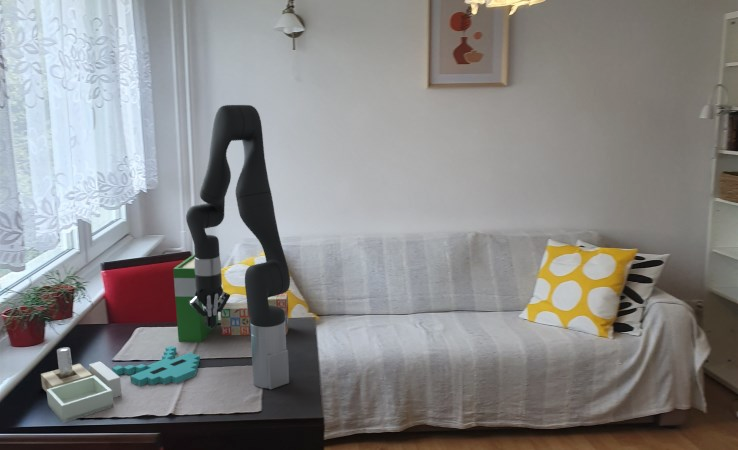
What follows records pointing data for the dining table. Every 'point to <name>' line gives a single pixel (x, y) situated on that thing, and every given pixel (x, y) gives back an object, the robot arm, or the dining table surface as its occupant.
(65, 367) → the steel dowel
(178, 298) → the hardback book
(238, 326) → the stack of blocks
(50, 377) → the socket block
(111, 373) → the bar
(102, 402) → the tray
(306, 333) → the dining table surface
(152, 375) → the alien figure
